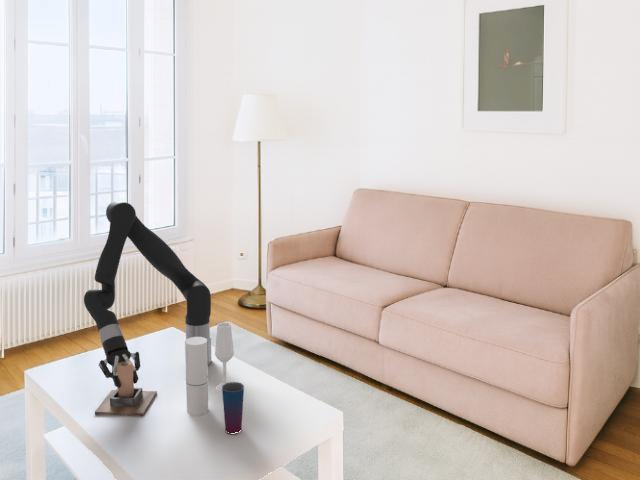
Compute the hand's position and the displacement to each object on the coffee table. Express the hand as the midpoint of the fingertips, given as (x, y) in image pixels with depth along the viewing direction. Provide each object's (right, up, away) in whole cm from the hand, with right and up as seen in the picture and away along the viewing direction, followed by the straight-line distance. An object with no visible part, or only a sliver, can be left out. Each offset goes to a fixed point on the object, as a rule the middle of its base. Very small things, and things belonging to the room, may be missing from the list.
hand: (127, 384), depth 213 cm
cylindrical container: (+24, -9, 0) cm, 25 cm away
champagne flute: (+30, -5, +17) cm, 35 cm away
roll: (-1, -5, +3) cm, 6 cm away
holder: (-1, -7, +3) cm, 8 cm away
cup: (+37, -12, -12) cm, 41 cm away
